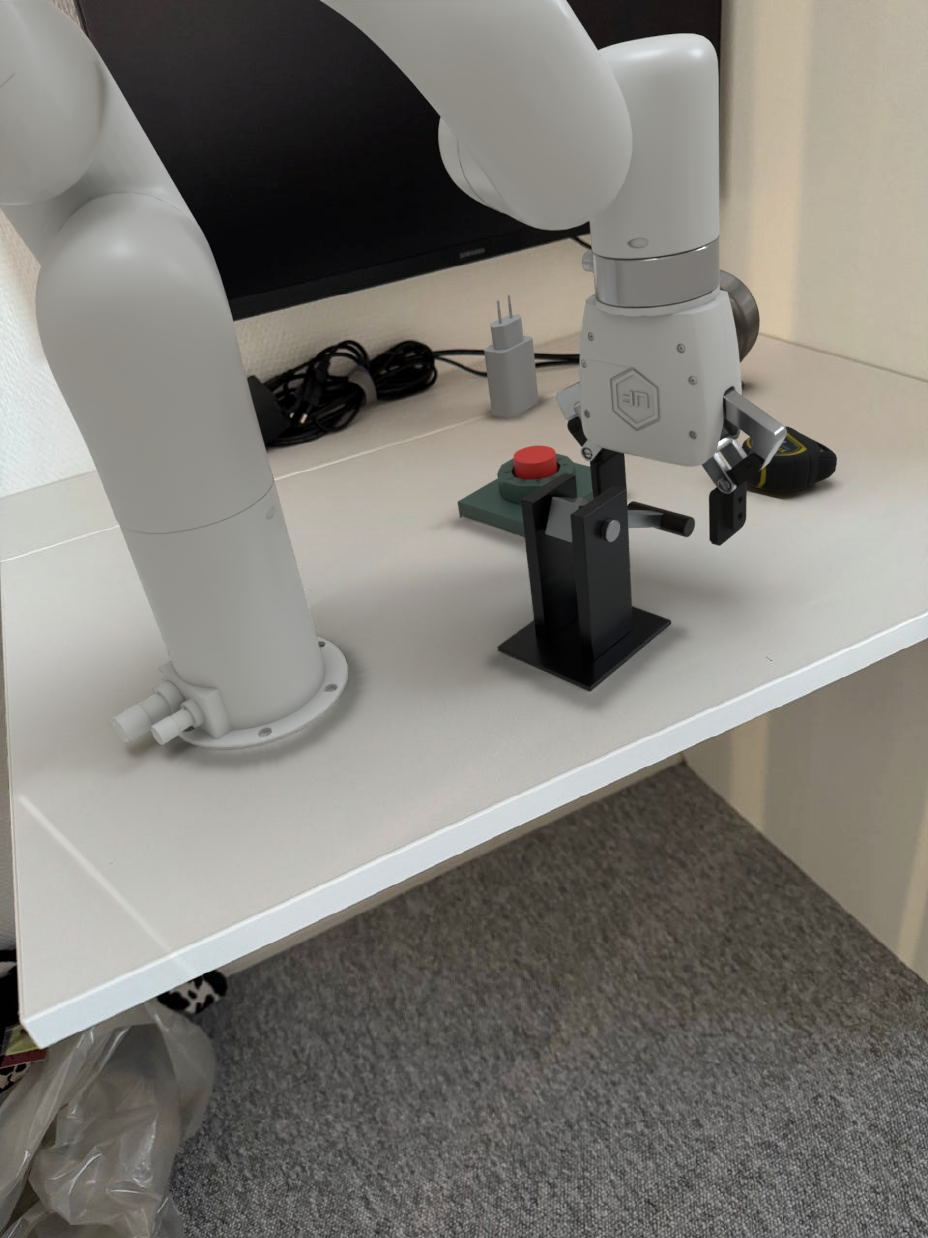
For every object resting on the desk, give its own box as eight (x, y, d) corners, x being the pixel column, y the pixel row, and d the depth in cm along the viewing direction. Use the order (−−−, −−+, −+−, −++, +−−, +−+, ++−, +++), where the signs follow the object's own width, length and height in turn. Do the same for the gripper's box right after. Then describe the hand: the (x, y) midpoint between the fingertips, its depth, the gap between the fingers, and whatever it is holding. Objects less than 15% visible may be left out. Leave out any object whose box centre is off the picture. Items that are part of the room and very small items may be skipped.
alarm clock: (758, 382, 100) (765, 221, 91) (742, 401, 97) (746, 235, 88) (661, 375, 106) (658, 222, 97) (642, 393, 102) (637, 236, 93)
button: (538, 485, 79) (536, 466, 78) (506, 476, 81) (504, 457, 80) (565, 468, 81) (564, 450, 80) (534, 460, 83) (532, 442, 82)
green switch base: (538, 550, 77) (533, 506, 75) (460, 523, 83) (454, 482, 81) (619, 496, 83) (617, 454, 81) (541, 474, 89) (537, 435, 87)
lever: (632, 526, 69) (639, 494, 69) (691, 543, 66) (699, 510, 65) (527, 528, 60) (534, 491, 60) (589, 548, 57) (597, 510, 57)
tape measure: (839, 487, 79) (843, 445, 77) (766, 508, 78) (768, 466, 76) (791, 458, 85) (793, 419, 83) (722, 477, 83) (723, 437, 81)
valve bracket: (580, 600, 70) (568, 453, 64) (671, 634, 65) (669, 479, 59) (499, 660, 65) (477, 508, 59) (591, 702, 60) (578, 541, 54)
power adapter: (489, 415, 103) (475, 303, 96) (519, 397, 106) (507, 288, 99) (511, 419, 101) (499, 306, 94) (541, 400, 104) (531, 290, 98)
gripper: (510, 282, 61) (539, 514, 71) (751, 304, 50) (747, 577, 60) (582, 249, 65) (600, 474, 75) (820, 263, 54) (806, 525, 64)
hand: (666, 519), depth 67 cm, fingers open, 9 cm apart
